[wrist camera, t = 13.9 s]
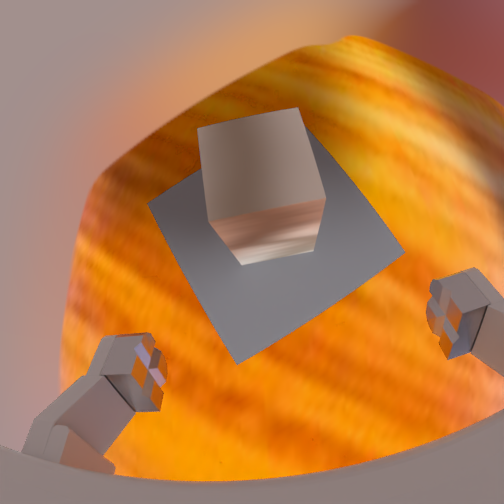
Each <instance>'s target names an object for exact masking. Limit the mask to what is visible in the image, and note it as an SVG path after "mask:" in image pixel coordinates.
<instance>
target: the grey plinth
mask: <svg viewBox="0 0 504 504" xmlns="http://www.w3.org/2000/svg"><path fill="white" fill-rule="evenodd" d="M304 126H305V125H304ZM305 130H306V133H307V136H308V139H309V142H310V145H311V148H312V151H313V154H314V158H315V161H316V164H317V168H318V171H319V174H320V178H321V181H322V185H323V188H324V191H325V195H326V201H325V206H324V210H323V214H322V218H321V222H320V227H319V231H318V235H317V239H316V243H315V247H314V251H311V252H306V253H301V254H296V255H291V256H286V257H281V258H276V259H271V260H266V261H261V262H256V263H251V264H246V265H241V264H240V262H239V261H238V260H237V259H236V257H235V256H234V255H233V253H232V252H231V251H230V249H229V248H228V247H227V246H226V244H225V243H224V242H223V240H222V239H221V238H220V236H219V235H218V234H217V233H216V231H215V230H214V229H213V227H212V226H211V225H210V223H209V222H208V215H207V208H206V200H205V192H204V184H203V176H202V168H201V169H199V170H198V171H196V172H195V173H193V174H191V175H190V176H188V177H187V178H185V179H184V180H182V181H181V182H179V183H177V184H176V185H174V186H173V187H171V188H170V189H168V190H167V191H165V192H164V193H162V194H161V195H159V196H158V197H156V198H155V199H153V200H152V201H150V202H149V203H147V204H148V206H149V208H150V210H151V212H152V214H153V216H154V218H155V220H156V222H157V224H158V226H159V228H160V230H161V232H162V234H163V236H164V237H165V239H166V241H167V243H168V245H169V247H170V249H171V251H172V253H173V255H174V256H175V258H176V260H177V262H178V264H179V266H180V268H181V269H182V271H183V273H184V275H185V277H186V279H187V280H188V282H189V284H190V286H191V288H192V289H193V291H194V293H195V295H196V296H197V298H198V300H199V302H200V303H201V305H202V307H203V309H204V310H205V312H206V314H207V316H208V317H209V319H210V321H211V323H212V324H213V326H214V328H215V329H216V331H217V333H218V334H219V336H220V338H221V339H222V341H223V343H224V344H225V346H226V348H227V349H228V351H229V353H230V354H231V356H232V357H233V359H234V361H235V362H236V364H237V365H238V364H240V363H241V362H243V361H245V360H246V359H248V358H250V357H252V356H253V355H255V354H257V353H258V352H260V351H262V350H263V349H265V348H267V347H268V346H270V345H271V344H273V343H275V342H276V341H278V340H280V339H281V338H283V337H284V336H286V335H288V334H289V333H291V332H292V331H294V330H295V329H297V328H299V327H300V326H302V325H303V324H305V323H306V322H308V321H309V320H311V319H312V318H314V317H316V316H317V315H319V314H320V313H322V312H323V311H325V310H326V309H328V308H329V307H330V306H332V305H333V304H335V303H336V302H338V301H339V300H341V299H342V298H344V297H345V296H347V295H348V294H349V293H351V292H352V291H354V290H355V289H356V288H358V287H359V286H361V285H362V284H364V283H365V282H366V281H368V280H369V279H370V278H372V277H373V276H375V275H376V274H377V273H379V272H380V271H381V270H383V269H384V268H385V267H387V266H388V265H389V264H391V263H392V262H393V261H395V260H396V259H397V258H399V257H400V256H401V255H403V254H404V253H405V251H404V250H403V248H402V247H401V245H400V244H399V243H398V241H397V240H396V238H395V237H394V235H393V234H392V233H391V231H390V230H389V228H388V227H387V226H386V224H385V223H384V222H383V220H382V219H381V218H380V216H379V215H378V213H377V212H376V211H375V209H374V208H373V207H372V206H371V204H370V203H369V202H368V200H367V199H366V198H365V196H364V195H363V194H362V193H361V191H360V190H359V189H358V188H357V186H356V185H355V184H354V182H353V181H352V180H351V179H350V178H349V176H348V175H347V174H346V173H345V171H344V170H343V169H342V168H341V167H340V165H339V164H338V163H337V162H336V161H335V159H334V158H333V157H332V156H331V155H330V154H329V152H328V151H327V150H326V149H325V148H324V147H323V146H322V144H321V143H320V142H319V141H318V140H317V139H316V138H315V136H314V135H313V134H312V133H311V132H310V131H309V130H308V129H307V128H306V127H305Z"/></svg>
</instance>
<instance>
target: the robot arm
mask: <svg viewBox="0 0 504 504" xmlns="http://www.w3.org/2000/svg"><path fill="white" fill-rule="evenodd" d="M429 291H430V293H431V294H432V297H431V299H430V300H429V301H428V303H427V309H426V315H427V321H428V324H429V327H430V329H431V331H432V333H434V334H436V335H437V336H439V337H440V340H439V345H440V347H441V349H442V351H443V352H444V354H445V356H446V358H447V360H449V359H452V358H455V357H458V356H461V355H464V354H467V353H469V352H471V354H472V355H474V356H475V357H477V358H478V359H480V360H481V361H482V362H484V363H485V364H487V365H488V366H489V367H491V368H492V369H494V370H495V371H496V372H498V373H499V374H501V375H502V376H503V377H504V298H503V297H502V296H501V295H500V294H499V292H498V291H497V290H496V289H495V288H494V287H493V285H492V284H491V283H490V282H489V281H488V280H487V279H486V278H485V276H484V275H483V274H482V273H481V272H480V271H479V270H478V269H477V268H474V267H473V268H470V269H467V270H464V271H461V272H458V273H454V274H451V275H447V276H444V277H440V278H436V279H433V280H432V282H431V284H430V290H429ZM155 342H156V341H155V340H154V338H153V337H152V335H151V334H150V333H147V332H146V333H134V334H120V335H111V336H105V337H103V338H102V339H101V342H100V344H99V346H98V348H97V351H96V353H95V355H94V358H93V360H92V362H91V365H90V367H89V369H88V372H87V374H86V376H81V377H80V378H79V379H78V380H77V381H76V382H75V383H73V384H72V385H71V386H70V387H69V388H68V389H67V390H66V391H65V392H63V393H62V394H61V395H60V396H59V397H58V398H57V399H56V400H55V401H54V402H53V403H51V404H50V405H49V406H48V407H47V408H46V409H45V410H44V411H43V412H41V413H40V414H39V415H38V416H37V417H36V418H35V419H34V421H33V424H32V426H31V428H30V431H29V433H28V436H27V439H26V441H25V444H24V447H23V449H22V452H18V451H15V450H12V449H9V448H7V447H4V446H1V445H0V504H504V409H503V410H501V411H499V412H497V413H495V414H493V415H491V416H489V417H487V418H485V419H483V420H481V421H479V422H477V423H475V424H472V425H470V426H468V427H466V428H463V429H461V430H459V431H457V432H454V433H452V434H449V435H447V436H444V437H442V438H439V439H437V440H434V441H431V442H429V443H426V444H423V445H420V446H418V447H415V448H412V449H409V450H406V451H402V452H399V453H396V454H393V455H389V456H386V457H382V458H379V459H375V460H371V461H367V462H363V463H359V464H355V465H351V466H346V467H341V468H337V469H332V470H326V471H321V472H315V473H309V474H302V475H295V476H287V477H279V478H269V479H257V480H242V481H173V480H158V479H147V478H137V477H129V476H121V475H114V472H115V466H114V464H113V463H112V462H110V461H109V460H108V459H106V458H105V457H104V456H103V455H104V454H105V452H106V451H107V450H108V448H109V447H110V446H111V445H112V443H113V442H114V441H115V439H116V438H117V437H118V436H119V434H120V433H121V432H122V430H123V429H124V428H125V426H126V425H127V424H128V423H129V421H130V420H131V419H132V417H133V416H134V415H135V412H154V411H160V409H161V404H162V399H163V394H164V393H163V391H162V390H161V388H160V387H161V386H162V385H163V384H164V383H165V382H166V379H167V374H168V373H167V363H166V360H165V357H164V355H163V353H162V352H161V351H160V350H158V349H156V348H155V347H154V345H155Z"/></svg>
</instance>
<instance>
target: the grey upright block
mask: <svg viewBox="0 0 504 504" xmlns="http://www.w3.org/2000/svg"><path fill="white" fill-rule="evenodd" d="M197 132H198V141H199V150H200V159H201V167H202V176H203V184H204V192H205V200H206V208H207V215H208V222H209V223H210V225H211V226H212V227H213V229H214V230H215V231H216V233H217V234H218V235H219V236H220V238H221V239H222V240H223V242H224V243H225V244H226V246H227V247H228V248H229V249H230V251H231V252H232V253H233V255H234V256H235V257H236V259H237V260H238V261H239V262H240V264H241V265H246V264H251V263H256V262H261V261H266V260H271V259H276V258H281V257H286V256H291V255H296V254H301V253H306V252H311V251H314V247H315V243H316V239H317V235H318V231H319V227H320V222H321V218H322V214H323V210H324V206H325V201H326V195H325V191H324V188H323V185H322V181H321V178H320V174H319V171H318V168H317V164H316V161H315V158H314V154H313V151H312V148H311V145H310V142H309V139H308V136H307V133H306V130H305V126H304V123H303V121H302V118H301V115H300V112H299V109H298V107H297V108H290V109H285V110H279V111H273V112H268V113H263V114H258V115H253V116H248V117H243V118H238V119H234V120H229V121H225V122H221V123H217V124H213V125H209V126H205V127H201V128H197Z"/></svg>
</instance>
